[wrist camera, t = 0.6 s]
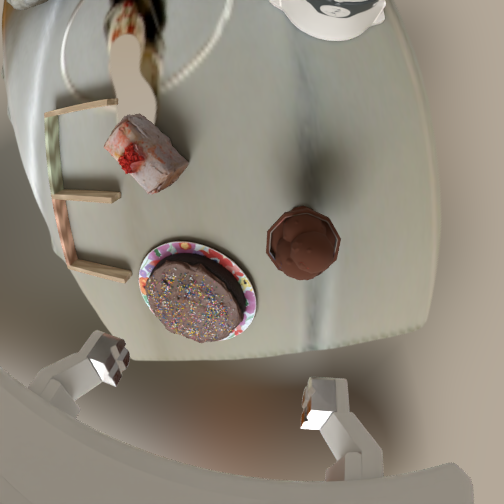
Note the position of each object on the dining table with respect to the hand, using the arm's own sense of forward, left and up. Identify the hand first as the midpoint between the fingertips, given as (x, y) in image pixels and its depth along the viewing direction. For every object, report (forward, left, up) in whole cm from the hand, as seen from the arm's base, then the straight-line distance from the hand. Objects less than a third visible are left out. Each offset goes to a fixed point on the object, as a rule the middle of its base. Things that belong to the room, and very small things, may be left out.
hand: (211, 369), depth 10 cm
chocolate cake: (+30, -14, -39) cm, 51 cm away
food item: (-2, -21, -38) cm, 44 cm away
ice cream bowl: (+9, +6, -38) cm, 40 cm away
